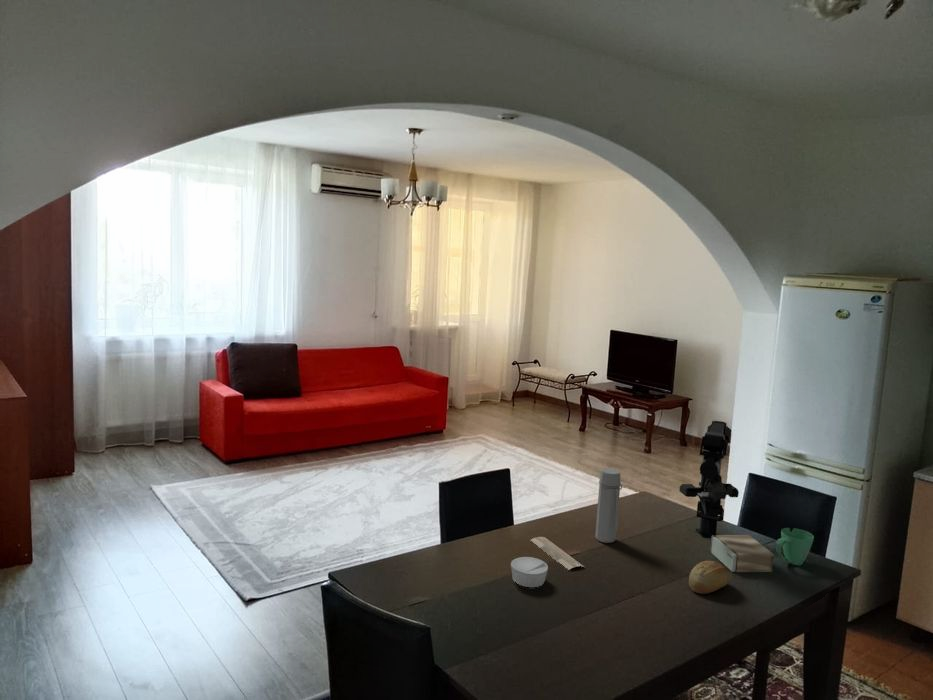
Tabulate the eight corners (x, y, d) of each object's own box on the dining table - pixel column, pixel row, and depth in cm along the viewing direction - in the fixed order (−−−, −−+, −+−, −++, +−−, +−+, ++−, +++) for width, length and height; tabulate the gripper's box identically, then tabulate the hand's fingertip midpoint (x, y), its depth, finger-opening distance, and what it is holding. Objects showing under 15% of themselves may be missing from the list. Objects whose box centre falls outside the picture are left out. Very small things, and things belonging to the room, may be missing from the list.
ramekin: (545, 593, 193) (546, 575, 192) (507, 587, 195) (508, 570, 194) (548, 575, 204) (549, 559, 203) (512, 570, 206) (513, 554, 205)
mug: (789, 553, 228) (792, 525, 227) (816, 565, 220) (820, 536, 219) (762, 561, 221) (765, 532, 220) (789, 573, 213) (793, 544, 211)
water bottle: (590, 537, 234) (595, 468, 231) (608, 534, 237) (613, 466, 234) (605, 547, 226) (611, 477, 223) (624, 544, 229) (630, 474, 226)
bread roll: (736, 587, 202) (739, 563, 201) (709, 601, 192) (712, 575, 191) (708, 575, 209) (710, 551, 208) (680, 588, 200) (683, 563, 199)
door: (709, 550, 227) (711, 535, 226) (712, 550, 227) (713, 535, 226) (731, 571, 212) (733, 555, 211) (735, 571, 212) (736, 555, 211)
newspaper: (584, 570, 210) (584, 564, 210) (565, 573, 207) (565, 568, 207) (544, 540, 231) (545, 535, 231) (527, 543, 228) (527, 538, 228)
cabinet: (714, 551, 227) (715, 535, 226) (747, 551, 228) (748, 535, 227) (736, 572, 212) (738, 554, 211) (771, 571, 213) (773, 554, 213)
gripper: (695, 478, 216) (691, 523, 218) (749, 478, 218) (744, 523, 220) (680, 467, 227) (676, 511, 229) (732, 468, 229) (727, 511, 231)
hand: (706, 514), depth 227 cm, fingers closed
